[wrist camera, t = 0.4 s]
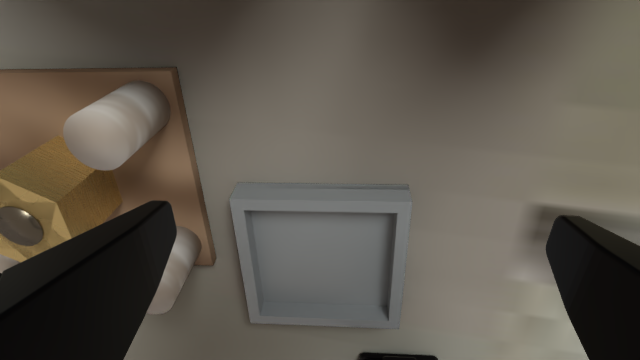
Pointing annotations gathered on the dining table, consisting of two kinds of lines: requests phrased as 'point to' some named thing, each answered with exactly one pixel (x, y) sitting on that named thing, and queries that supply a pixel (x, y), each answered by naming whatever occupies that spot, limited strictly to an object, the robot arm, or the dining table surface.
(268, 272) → the tray
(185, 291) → the dining table surface
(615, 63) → the dining table surface
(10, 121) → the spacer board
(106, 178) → the nut
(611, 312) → the robot arm
